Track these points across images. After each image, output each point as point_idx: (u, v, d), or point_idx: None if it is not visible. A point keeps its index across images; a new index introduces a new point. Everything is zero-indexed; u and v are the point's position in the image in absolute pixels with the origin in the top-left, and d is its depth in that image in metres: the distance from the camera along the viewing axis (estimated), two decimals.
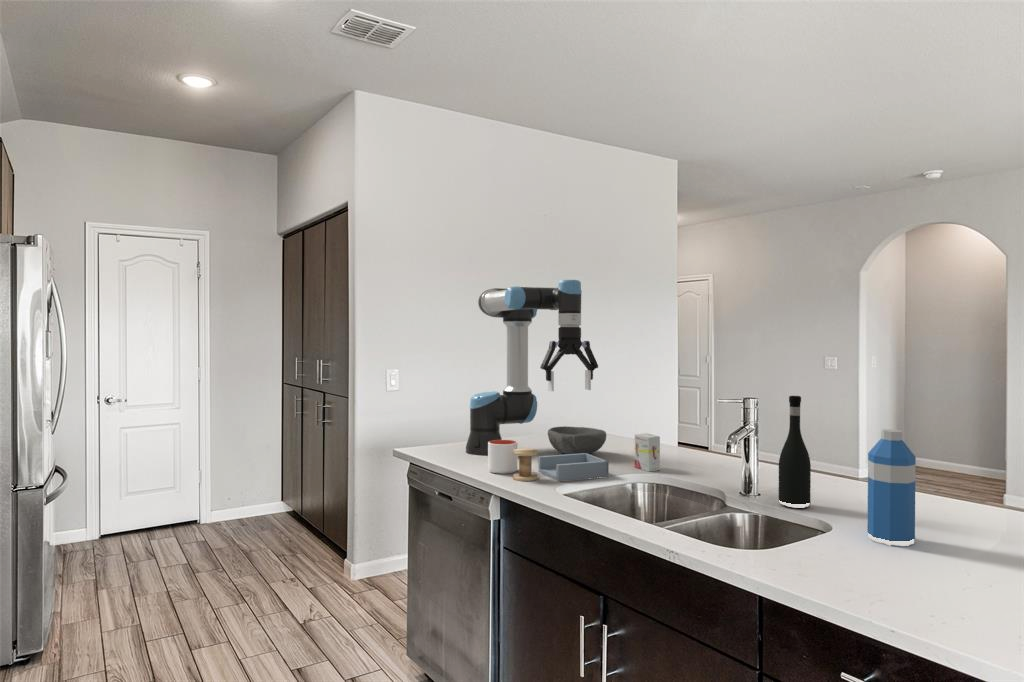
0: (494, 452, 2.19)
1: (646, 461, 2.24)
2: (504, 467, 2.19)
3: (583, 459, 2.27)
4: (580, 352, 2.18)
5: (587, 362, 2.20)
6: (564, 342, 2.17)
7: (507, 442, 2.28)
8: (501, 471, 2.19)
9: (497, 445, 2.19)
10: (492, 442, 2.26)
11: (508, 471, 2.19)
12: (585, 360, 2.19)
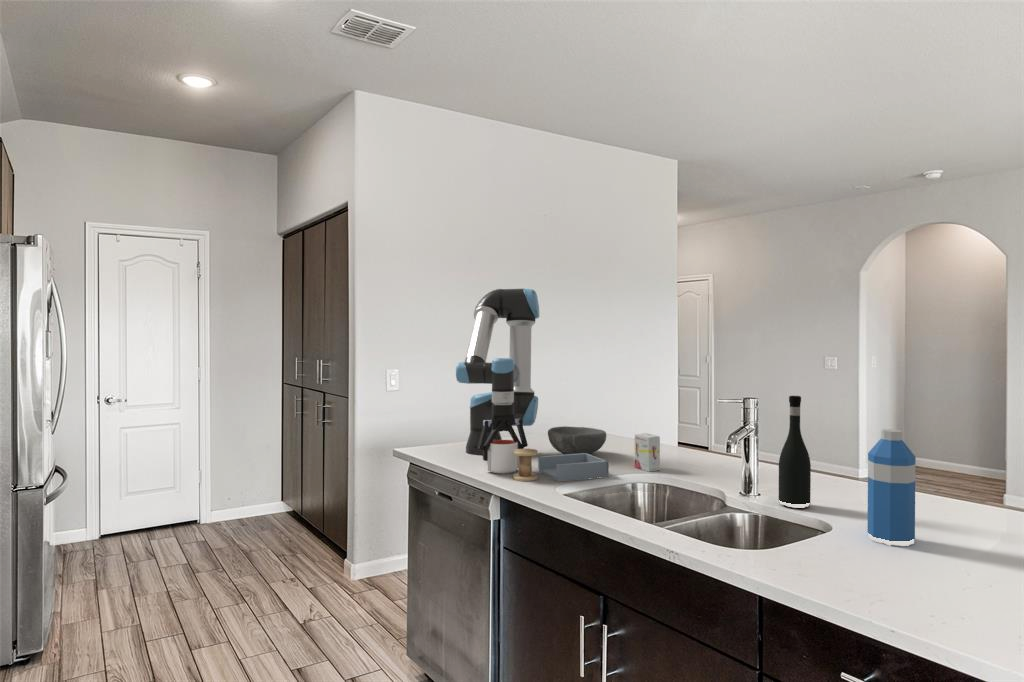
0: (494, 452, 2.19)
1: (646, 461, 2.24)
2: (504, 467, 2.19)
3: (583, 459, 2.27)
4: (512, 430, 2.23)
5: (517, 440, 2.24)
6: (496, 419, 2.21)
7: (507, 442, 2.28)
8: (501, 471, 2.19)
9: (497, 445, 2.19)
10: (492, 442, 2.26)
11: (508, 471, 2.19)
12: (515, 438, 2.24)
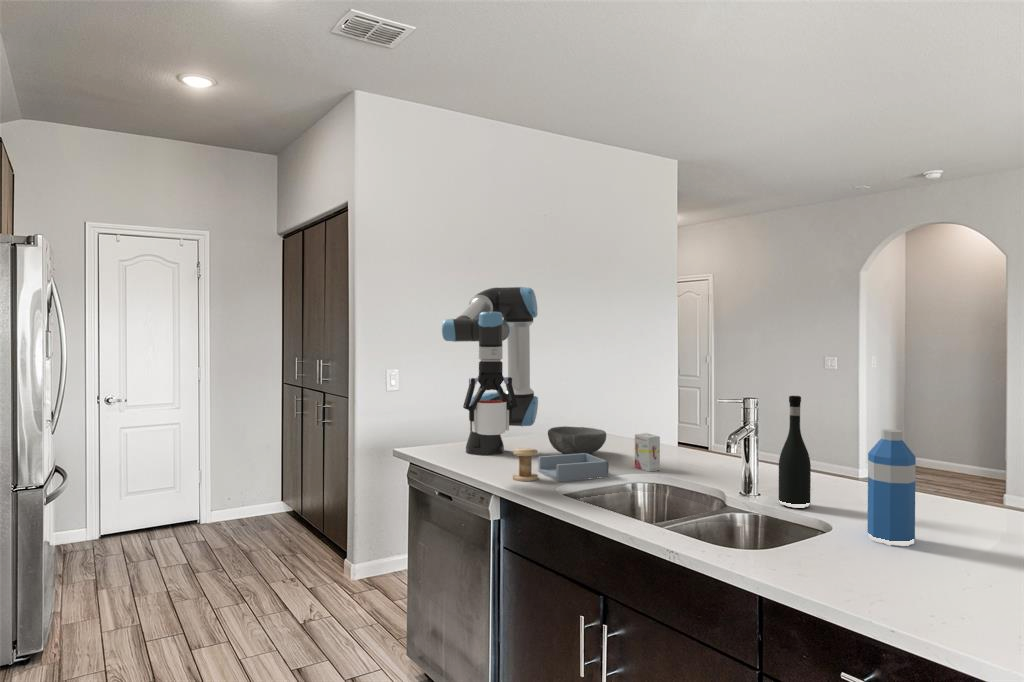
0: (481, 412, 2.04)
1: (646, 461, 2.24)
2: (492, 428, 2.03)
3: (583, 459, 2.27)
4: (500, 388, 2.07)
5: (506, 400, 2.09)
6: (484, 377, 2.06)
7: (495, 403, 2.12)
8: (488, 432, 2.03)
9: (484, 404, 2.03)
10: (479, 402, 2.11)
11: (496, 432, 2.04)
12: (504, 398, 2.08)
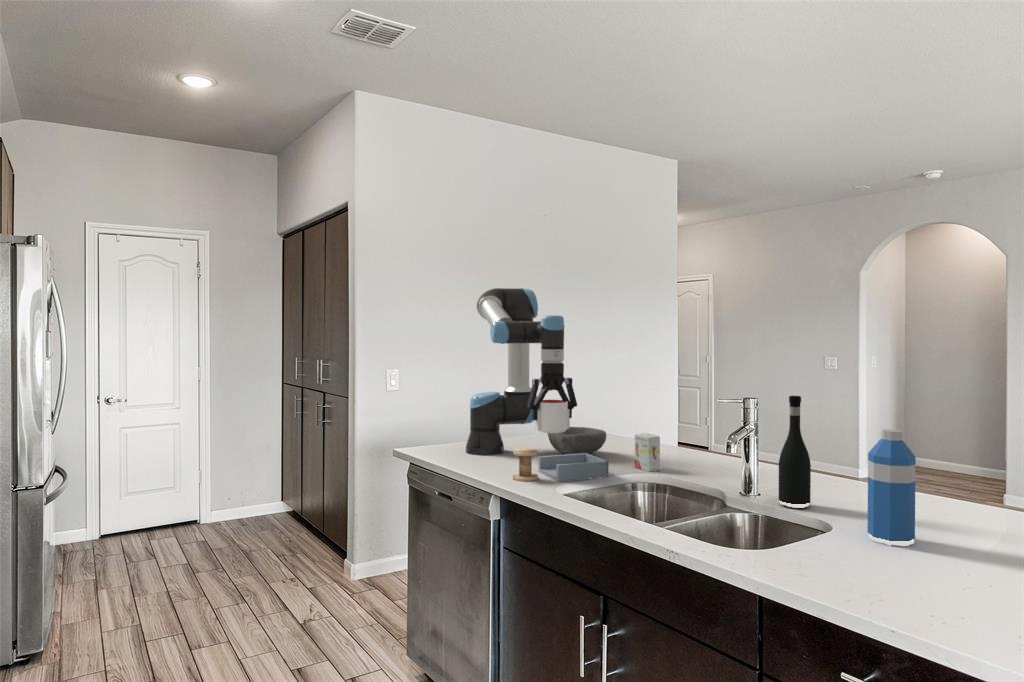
0: (545, 411, 2.14)
1: (646, 461, 2.24)
2: (555, 426, 2.13)
3: (583, 459, 2.27)
4: (561, 389, 2.17)
5: (567, 400, 2.18)
6: (546, 378, 2.16)
7: (556, 402, 2.22)
8: (552, 430, 2.13)
9: (548, 404, 2.13)
10: (541, 402, 2.21)
11: (559, 430, 2.13)
12: (565, 398, 2.18)
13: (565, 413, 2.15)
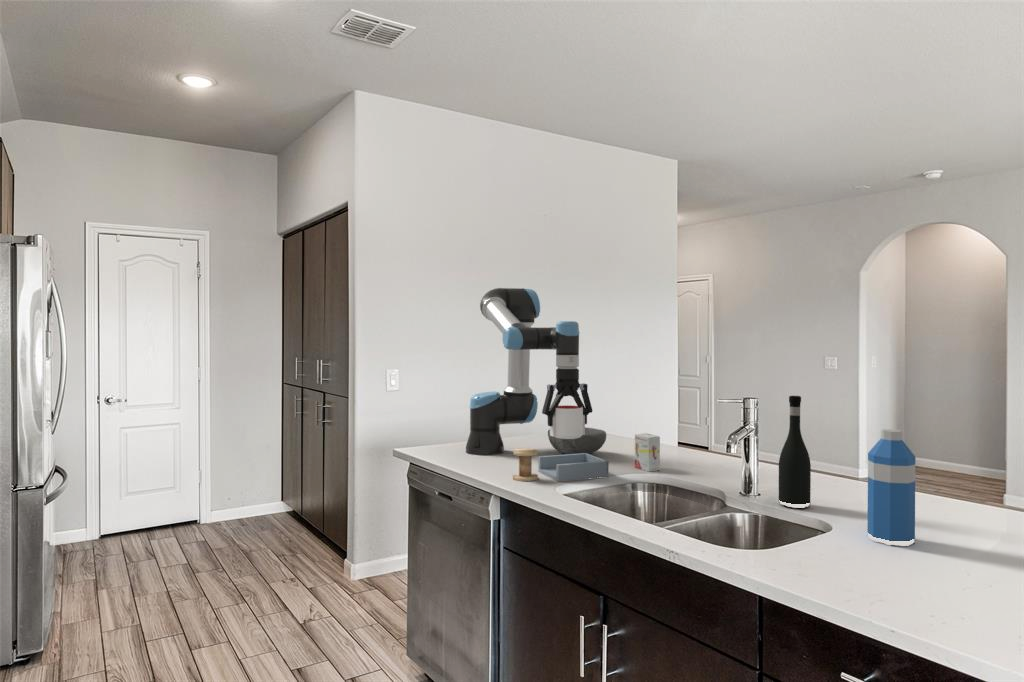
0: (560, 417, 2.13)
1: (646, 461, 2.24)
2: (570, 432, 2.13)
3: (583, 459, 2.27)
4: (577, 395, 2.17)
5: (582, 406, 2.18)
6: (561, 384, 2.15)
7: (571, 408, 2.22)
8: (567, 436, 2.13)
9: (563, 409, 2.13)
10: None
11: (574, 436, 2.13)
12: (580, 403, 2.18)
13: (580, 419, 2.15)
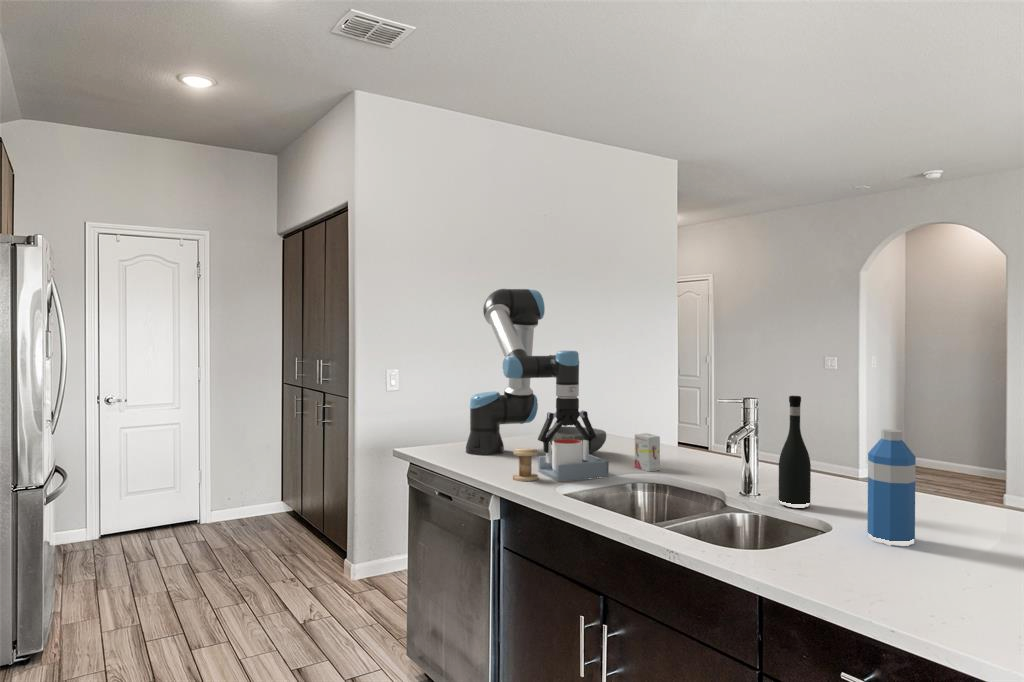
0: (560, 451, 2.14)
1: (646, 461, 2.24)
2: None
3: (583, 459, 2.27)
4: (578, 423, 2.17)
5: (585, 433, 2.19)
6: (562, 413, 2.16)
7: (570, 441, 2.22)
8: None
9: (563, 444, 2.13)
10: (555, 441, 2.21)
11: None
12: (583, 431, 2.18)
13: (580, 453, 2.15)
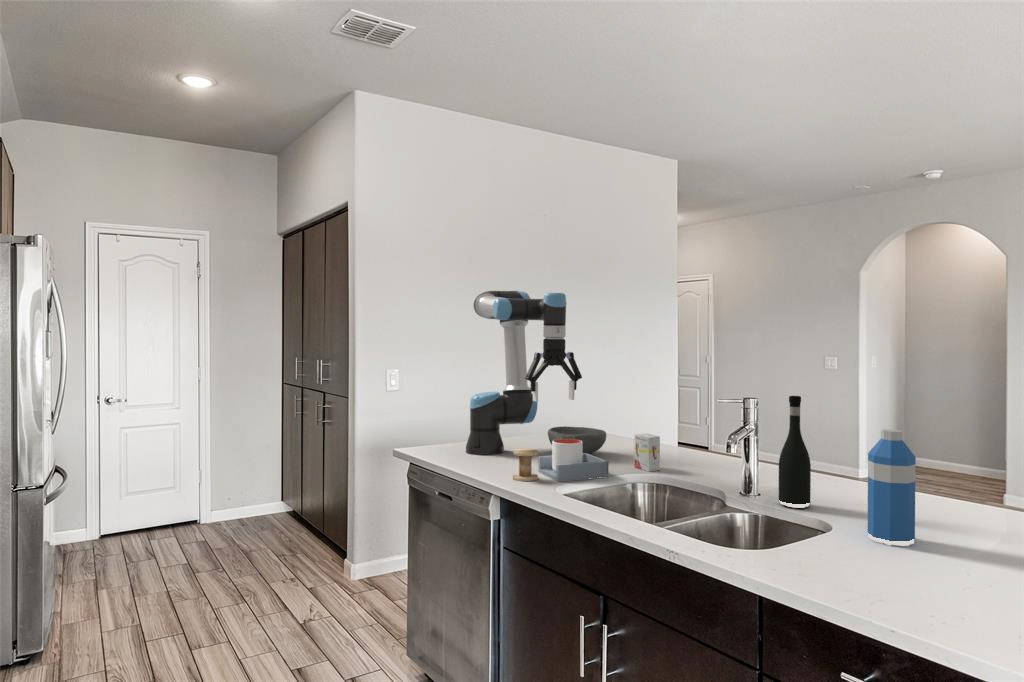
0: (560, 451, 2.14)
1: (646, 461, 2.24)
2: None
3: (583, 459, 2.27)
4: (564, 363, 2.24)
5: (571, 373, 2.25)
6: (548, 354, 2.22)
7: (570, 441, 2.22)
8: None
9: (563, 444, 2.13)
10: (555, 441, 2.21)
11: None
12: (569, 371, 2.25)
13: (580, 453, 2.15)
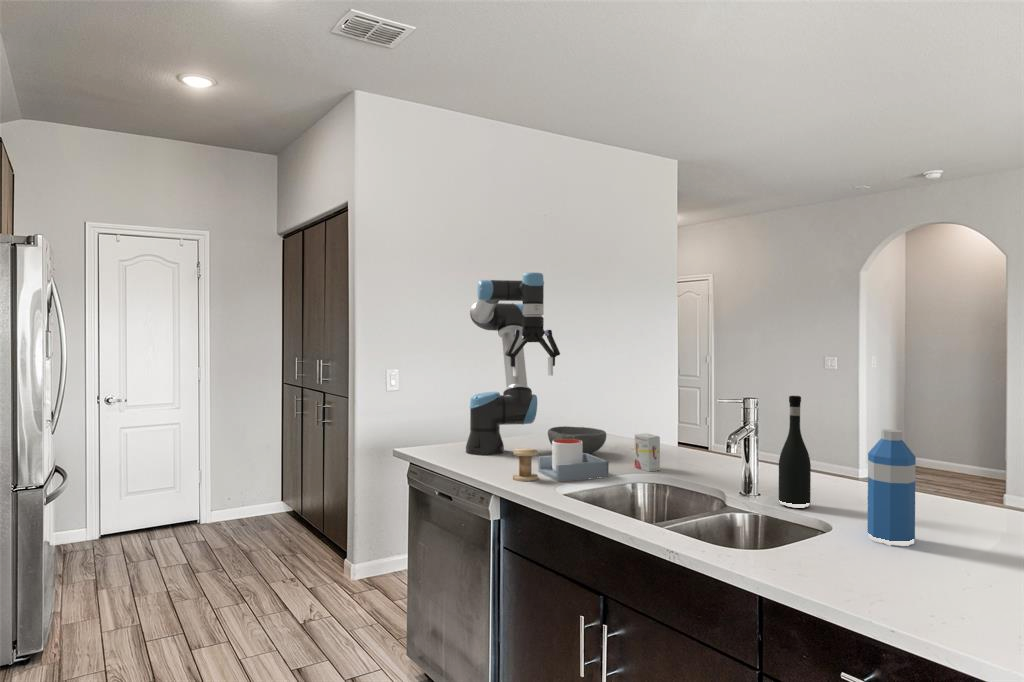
0: (560, 451, 2.14)
1: (646, 461, 2.24)
2: None
3: (583, 459, 2.27)
4: (542, 340, 2.34)
5: (549, 349, 2.36)
6: (527, 331, 2.33)
7: (570, 441, 2.22)
8: None
9: (563, 444, 2.13)
10: (555, 441, 2.21)
11: None
12: (547, 347, 2.35)
13: (580, 453, 2.15)
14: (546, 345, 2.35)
